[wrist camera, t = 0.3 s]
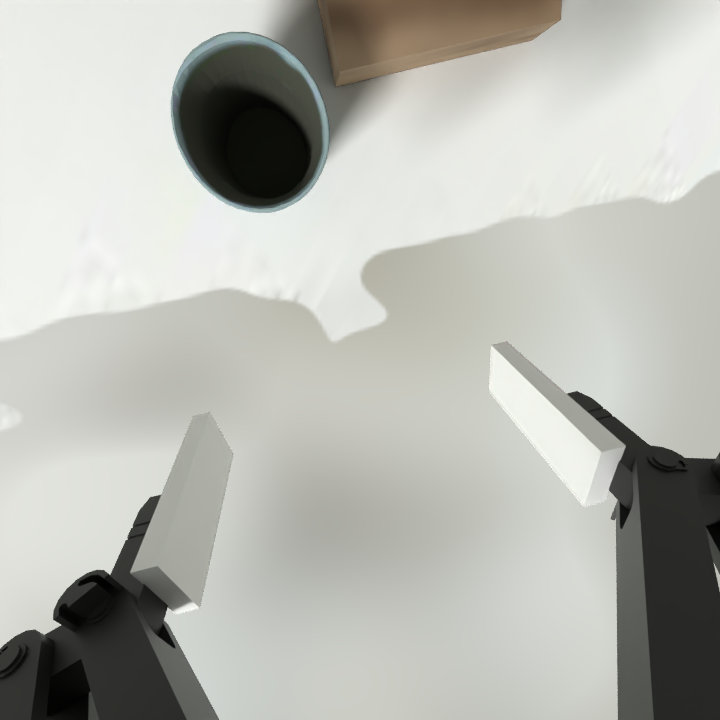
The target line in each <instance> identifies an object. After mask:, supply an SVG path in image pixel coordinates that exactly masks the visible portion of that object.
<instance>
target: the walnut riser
mask: <svg viewBox="0 0 720 720" xmlns="http://www.w3.org/2000/svg"><path fill="white" fill-rule="evenodd" d="M317 1H318V6H319V11H320V16H321V20H322V25H323V30H324V35H325V40H326V45H327V49H328V54H329V59H330V64H331V69H332V73H333V78H334V83H335V87H338V86H342V85H346V84H350V83H354V82H359V81H363V80H367V79H371V78H375V77H380V76H384V75H388V74H392V73H396V72H401V71H405V70H409V69H413V68H417V67H422V66H426V65H430V64H434V63H438V62H443V61H447V60H451V59H455V58H459V57H464V56H468V55H472V54H476V53H480V52H485V51H489V50H493V49H497V48H501V47H506V46H510V45H514V44H518V43H522V42H527V41H531V40H533V39H534V38H536V37H537V36H539V35H540V34H541V33H543V32H544V31H546V30H547V29H548V28H550V27H551V26H553V25H554V24H555V23H557V22H558V21H560V20H561V1H562V0H317Z"/></svg>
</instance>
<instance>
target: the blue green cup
mask: <svg viewBox="0 0 720 720" xmlns="http://www.w3.org/2000/svg"><path fill="white" fill-rule="evenodd" d="M171 117H172V124H173V130H174V135H175V138H176V142H177V145H178V147H179V150H180V152H181V154H182V157H183V159H184V160H185V162H186V164H187V166H188V167H189V169H190V171H191V172H192V173H193V175H194V176H195V178H196V179H197V180H198V181H199V182H200V183H201V184H202V185H203V186H204V187H205V188H206V189H207V190H208V191H209V192H210V193H211V194H212V195H214V196H215V197H216V198H218V199H219V200H221V201H223V202H224V203H226V204H228V205H230V206H233V207H235V208H237V209H241V210H245V211H249V212H257V213H270V212H275V211H279V210H282V209H284V208H286V207H288V206H290V205H292V204H294V203H296V202H297V201H299V200H300V199H302V198H303V197H304V196H305V195H306V194H307V193H308V192H309V191H310V190H311V189H312V187H313V186H314V185H315V183H316V182H317V180H318V178H319V176H320V174H321V172H322V170H323V168H324V165H325V162H326V159H327V154H328V149H329V121H328V115H327V111H326V107H325V104H324V101H323V98H322V96H321V93H320V90H319V88H318V86H317V85H316V83H315V81H314V79H313V77H312V76H311V74H310V73H309V72H308V70H307V69H306V67H305V66H304V65H303V64H302V63H301V61H300V60H299V59H298V58H297V57H296V56H295V55H294V54H292V53H291V52H290V51H288V50H287V49H286V48H285V47H283V46H282V45H280V44H279V43H277V42H275V41H273V40H271V39H269V38H267V37H264V36H261V35H258V34H254V33H249V32H228V33H223V34H219V35H217V36H214V37H212V38H210V39H209V40H207V41H205V42H203V43H201V44H200V45H199V46H197V47H196V48H195V49H193V50H192V52H191V53H190V54H189V55H188V56H187V57H186V58H185V60H184V62H183V64H182V65H181V67H180V69H179V71H178V74H177V76H176V79H175V82H174V85H173V91H172V98H171Z"/></svg>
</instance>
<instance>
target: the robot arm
mask: <svg viewBox="0 0 720 720" xmlns="http://www.w3.org/2000/svg"><path fill="white" fill-rule="evenodd" d="M489 392H490V393H491V394H492V396H493V397H494V398H495V399H496V401H497V402H498V403H499V404H500V405H501V407H502V408H503V409H504V410H505V412H506V413H507V414H508V415H509V416H510V418H512V420H513V421H514V423H515V424H516V425H517V426H518V427H519V429H520V430H521V431H522V432H523V433H524V435H525V436H526V437H527V438H528V440H529V441H530V442H531V443H532V445H534V447H535V448H536V449H537V450H538V452H539V453H540V454H541V455H542V457H543V458H544V459H545V460H546V462H547V463H548V464H549V465H550V467H551V468H552V469H553V470H554V471H555V473H556V474H557V475H558V476H559V478H560V479H561V480H562V481H563V482H564V484H565V485H566V486H567V487H568V488H569V490H570V491H571V492H572V493H573V494H574V496H575V497H576V498H577V500H578V501H579V502H580V503H581V504H582V506H583V507H587V506H591V505H594V504H598V503H602V502H605V501H606V498H607V495H608V493H609V491H610V492H611V493H612V494H613V495H614V496H615V497H616V498H617V499H618V501H617V503H616V506H615V508H614V511H613V513H612V516H611V519H612V520H615V518H616V557H617V558H616V560H617V561H616V562H617V654H618V655H617V663H618V664H617V666H618V720H720V592H719V587H718V582H717V578H716V573H715V568H714V564H715V566H716V568H717V570H718V572H719V574H720V453H719V455H718V456H717V458H716V459H700V458H699V459H698V458H684V457H683V456H681V455H679V454H678V453H676V452H674V451H672V450H669V449H666V448H663V447H657V446H650V445H649V444H647V443H646V442H645V441H644V440H642V439H641V438H640V437H639V436H637V435H636V434H635V433H634V432H633V431H631V430H630V429H629V428H628V427H626V426H625V425H624V424H623V423H621V422H620V421H619V420H618V419H617V418H615V417H613V416H612V414H611V413H609V412H608V411H607V410H606V409H603V407H602V406H601V405H600V404H598V403H597V402H596V401H595V400H593V399H592V398H590V397H588V396H586V395H584V394H582V393H579V392H577V391H576V392H572V393H568V394H566V393H565V392H564V391H563V390H561V388H559V387H558V386H557V385H556V384H555V383H554V382H552V381H551V380H550V379H549V378H548V377H547V376H546V375H545V374H543V373H542V372H541V371H540V370H539V369H538V368H537V367H535V366H534V365H533V364H532V363H531V362H530V361H529V360H527V359H526V358H525V357H524V356H523V355H522V354H521V353H519V352H518V351H517V350H516V349H515V348H514V347H513V346H512V345H510V344H509V343H508V342H502V343H498V344H494V345H491V360H490V382H489ZM232 458H233V452H232V450H231V449H230V447H229V445H228V443H227V442H226V440H225V438H224V436H223V434H222V432H221V431H220V429H219V427H218V425H217V423H216V422H215V420H214V418H213V416H212V414H211V413H210V412H208V413H204V414H200V415H196V416H193V418H192V420H191V423H190V425H189V428H188V430H187V433H186V435H185V438H184V440H183V443H182V445H181V447H180V450H179V452H178V455H177V457H176V460H175V463H174V465H173V467H172V470H171V472H170V475H169V477H168V480H167V482H166V485H165V487H164V490H163V492H162V494H161V495H158V496H154V497H150V498H149V500H148V501H147V502H146V503H145V504H144V506H143V507H142V508H141V509H140V511H139V512H138V515H137V517H136V519H135V522H134V524H133V528H131V530H130V532H129V535H128V540H126V541H125V544H124V546H123V548H122V550H121V553H120V555H119V557H118V559H117V561H116V564H115V566H114V568H113V570H112V573H111V575H109V574H108V573H107V572H105V571H104V570H95V571H92V572H89V573H87V574H85V575H84V576H82V577H80V578H79V579H77V580H76V581H75V582H74V583H73V584H72V585H71V586H70V587H69V588H67V589H66V591H65V592H64V594H63V595H62V596H61V597H60V599H59V600H58V602H57V605H56V607H55V609H54V614H53V620H55V621H56V622H58V623H60V624H61V626H59V627H58V628H56V629H54V630H52V631H51V632H49V633H47V634H45V635H43V634H41V633H40V632H38V631H36V630H29V631H25V632H23V633H21V634H19V635H17V636H15V637H14V638H13V639H11V640H10V641H9V642H7V643H6V644H5V645H4V646H3V647H2V648H1V649H0V720H219V719H218V717H217V715H216V713H215V711H214V709H213V707H212V705H211V704H210V702H209V700H208V698H207V696H206V694H205V692H204V690H203V689H202V687H201V685H200V683H199V681H198V679H197V678H196V676H195V674H194V672H193V670H192V668H191V666H190V664H189V663H188V661H187V659H186V657H185V655H184V653H183V651H182V650H181V648H180V646H179V644H178V642H177V640H176V638H175V637H174V635H173V633H172V631H171V629H170V627H169V625H168V624H167V623H166V622H165V621H164V617H165V614H166V611H167V607H168V608H170V609H171V610H172V611H173V612H174V613H175V614H179V613H184V612H187V611H191V610H195V609H199V608H200V605H201V600H202V596H203V592H204V587H205V582H206V578H207V573H208V568H209V564H210V559H211V554H212V550H213V545H214V541H215V536H216V531H217V527H218V522H219V518H220V513H221V508H222V504H223V499H224V495H225V490H226V485H227V481H228V476H229V472H230V467H231V462H232ZM713 562H714V564H713Z"/></svg>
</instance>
